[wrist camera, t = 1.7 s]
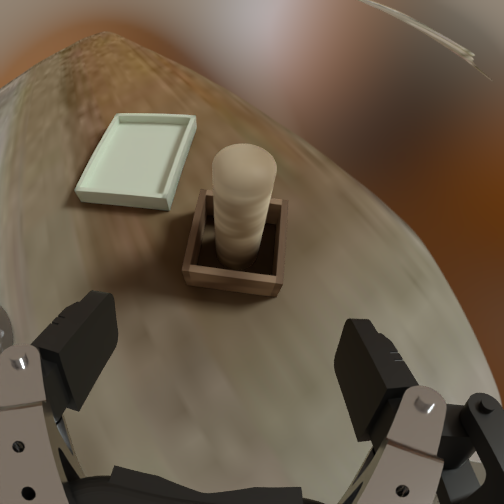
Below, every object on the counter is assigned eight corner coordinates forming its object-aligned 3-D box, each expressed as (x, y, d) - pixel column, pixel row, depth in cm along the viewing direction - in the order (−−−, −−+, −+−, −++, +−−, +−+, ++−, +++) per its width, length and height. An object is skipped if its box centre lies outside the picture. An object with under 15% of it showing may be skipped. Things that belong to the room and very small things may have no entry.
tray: (81, 201, 30) (74, 190, 28) (120, 125, 36) (116, 113, 34) (169, 210, 30) (166, 198, 28) (196, 128, 36) (195, 115, 34)
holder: (186, 284, 27) (181, 270, 24) (202, 209, 31) (200, 189, 28) (276, 297, 27) (283, 283, 24) (282, 220, 31) (288, 200, 28)
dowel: (212, 267, 28) (206, 186, 17) (219, 230, 30) (218, 140, 19) (255, 272, 28) (274, 195, 17) (259, 235, 30) (278, 148, 19)
